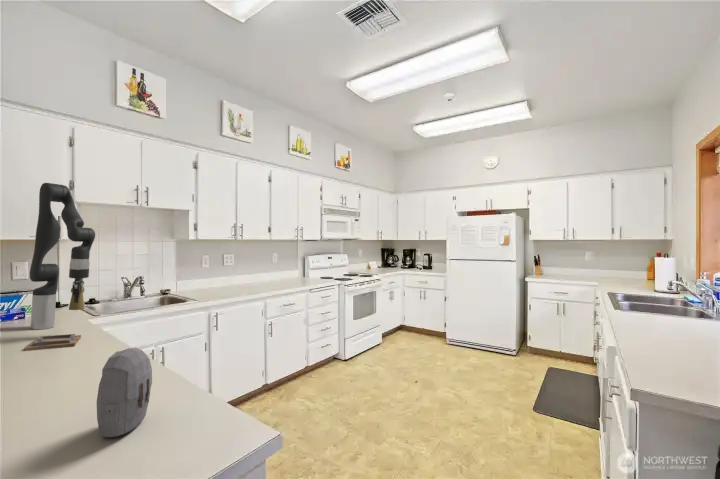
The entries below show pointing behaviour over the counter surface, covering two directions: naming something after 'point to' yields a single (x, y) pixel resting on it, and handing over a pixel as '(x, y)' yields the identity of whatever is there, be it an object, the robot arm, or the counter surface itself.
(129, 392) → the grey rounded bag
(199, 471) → the counter surface
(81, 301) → the cork
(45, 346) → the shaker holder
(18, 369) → the counter surface
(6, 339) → the counter surface
